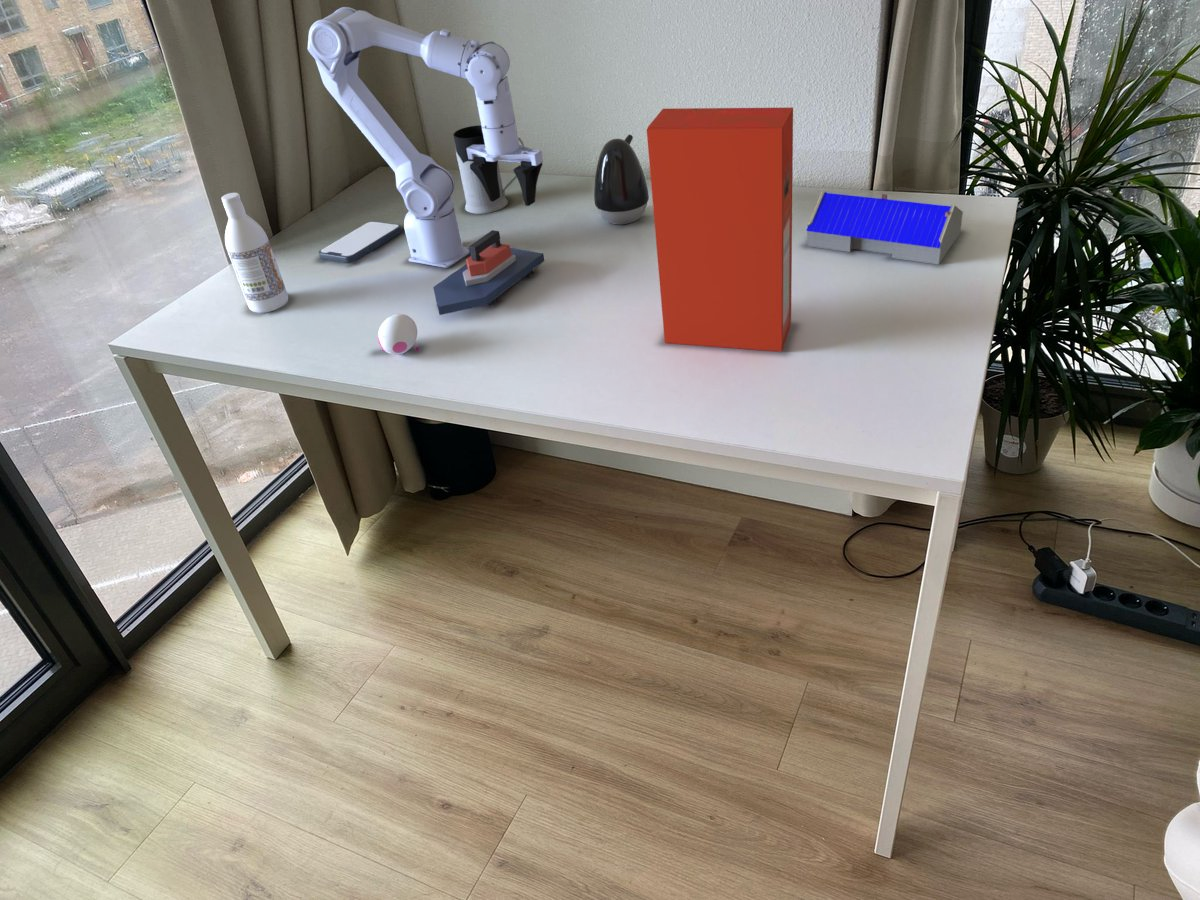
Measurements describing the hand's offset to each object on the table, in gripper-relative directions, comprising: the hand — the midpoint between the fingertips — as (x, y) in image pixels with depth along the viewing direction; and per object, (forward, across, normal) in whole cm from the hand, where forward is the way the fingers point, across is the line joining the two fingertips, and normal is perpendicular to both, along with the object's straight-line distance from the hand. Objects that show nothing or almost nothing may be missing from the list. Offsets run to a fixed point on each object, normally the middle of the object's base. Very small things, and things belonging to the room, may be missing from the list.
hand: (512, 201), depth 162 cm
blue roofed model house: (+11, +58, +25) cm, 64 cm away
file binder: (+11, +47, -13) cm, 50 cm away
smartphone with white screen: (+10, -34, -6) cm, 36 cm away
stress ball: (+10, +1, -35) cm, 37 cm away
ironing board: (+10, +2, -14) cm, 18 cm away
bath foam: (+10, -33, -31) cm, 47 cm away
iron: (+7, +2, -12) cm, 14 cm away
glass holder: (+10, -19, +19) cm, 29 cm away
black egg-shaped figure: (+11, +10, +20) cm, 25 cm away
